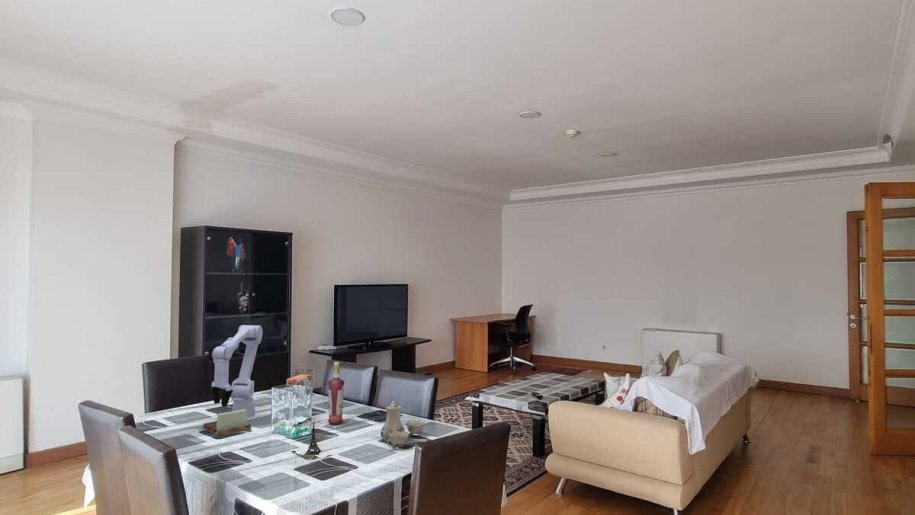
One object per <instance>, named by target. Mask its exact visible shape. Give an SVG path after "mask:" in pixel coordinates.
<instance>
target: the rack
mask: <svg viewBox="0 0 915 515" xmlns="http://www.w3.org/2000/svg"><path fill="white" fill-rule="evenodd" d="M216 423H217V420H216V421H210V422H205V423H203V424H202V425H203V426H202V427H203V428H202V429H204V430H206V431H207V432H210V433H212V434H214V435H215V436H218V437H220V436H225V435H230V434H235V433H238V432H245V431H249V430H252V424H251V423H250V424H249V423H248V424H247V425H243V426H238V427H233V428H228V429H223V430H218V434H217V427H216Z"/></svg>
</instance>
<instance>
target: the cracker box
mask: <svg viewBox="0 0 915 515" xmlns="http://www.w3.org/2000/svg"><path fill="white" fill-rule="evenodd" d="M312 377H313V376H312V374H306V373H305V374H304V373H303V374H302V373H301V374H298V375H295V376H291V377H289V378H286V384H285V385H286V386H288V385H302V386H308V387H311V388H312Z"/></svg>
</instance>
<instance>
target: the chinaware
mask: <svg viewBox="0 0 915 515" xmlns="http://www.w3.org/2000/svg"><path fill="white" fill-rule="evenodd" d="M401 408H402V406H400V405H398V404H397V403H396V401H395V400H394V399H393V400H392V401H391V403H390V404H389V405H387V406H385V409H386V420H385V422H384V424H383V426H382V427H381V430H380V436H381V438H382V440H383V439H385V440H388V442H386V443H387V446H388V447H390V448H391V447H392V448H393V447H395V446H396V447H401V446H402V447H403V446H405V444H406V443H407V441H408V438H409V437H410V434H411V435H413V434H418V435H420V434H421V433H422V432H423V430H424V427H425V425H426V422H425V421H423V422H422V421H421V420H418V419H417V420H413V421H411V420H409V421H407V422H406V423H405V424H404V425H405V426H406V427H407V431H406V429H405V427H404V425H403V424H402V421H401ZM419 433H420V434H419ZM389 441H390V442H391V445H390V442H389Z"/></svg>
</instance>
